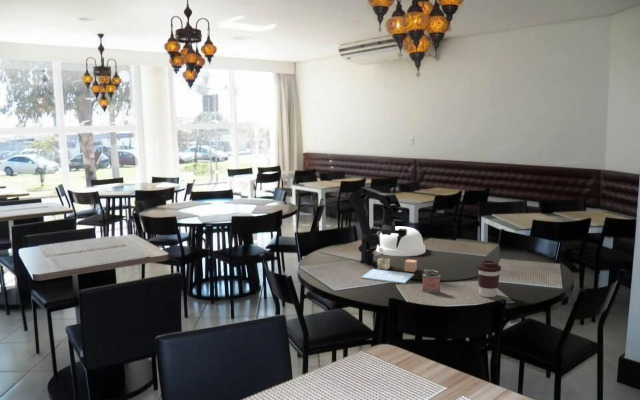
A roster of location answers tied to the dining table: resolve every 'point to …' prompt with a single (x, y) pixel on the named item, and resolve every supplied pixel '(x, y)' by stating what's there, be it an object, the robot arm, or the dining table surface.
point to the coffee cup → (488, 278)
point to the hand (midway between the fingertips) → (388, 247)
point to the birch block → (383, 263)
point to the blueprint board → (388, 276)
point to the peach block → (410, 265)
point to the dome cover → (402, 243)
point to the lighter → (431, 281)
